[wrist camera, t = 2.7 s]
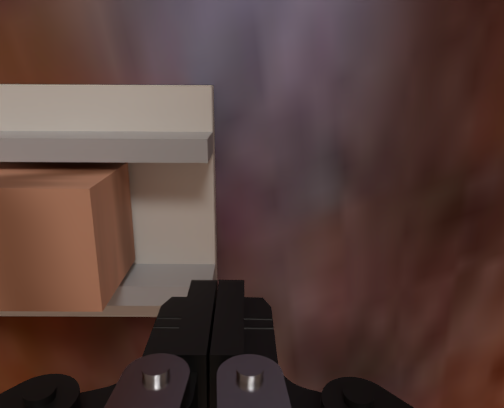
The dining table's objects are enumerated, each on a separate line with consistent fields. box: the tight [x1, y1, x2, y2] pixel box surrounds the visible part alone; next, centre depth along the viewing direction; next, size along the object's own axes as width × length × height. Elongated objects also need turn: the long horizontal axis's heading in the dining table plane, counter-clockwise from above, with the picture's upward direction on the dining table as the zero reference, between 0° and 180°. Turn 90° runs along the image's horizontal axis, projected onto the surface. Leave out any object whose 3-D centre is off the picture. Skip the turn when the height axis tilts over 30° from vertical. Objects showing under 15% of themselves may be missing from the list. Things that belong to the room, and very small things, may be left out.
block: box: [0, 162, 135, 312], centre depth 19 cm, size 6×5×5 cm
